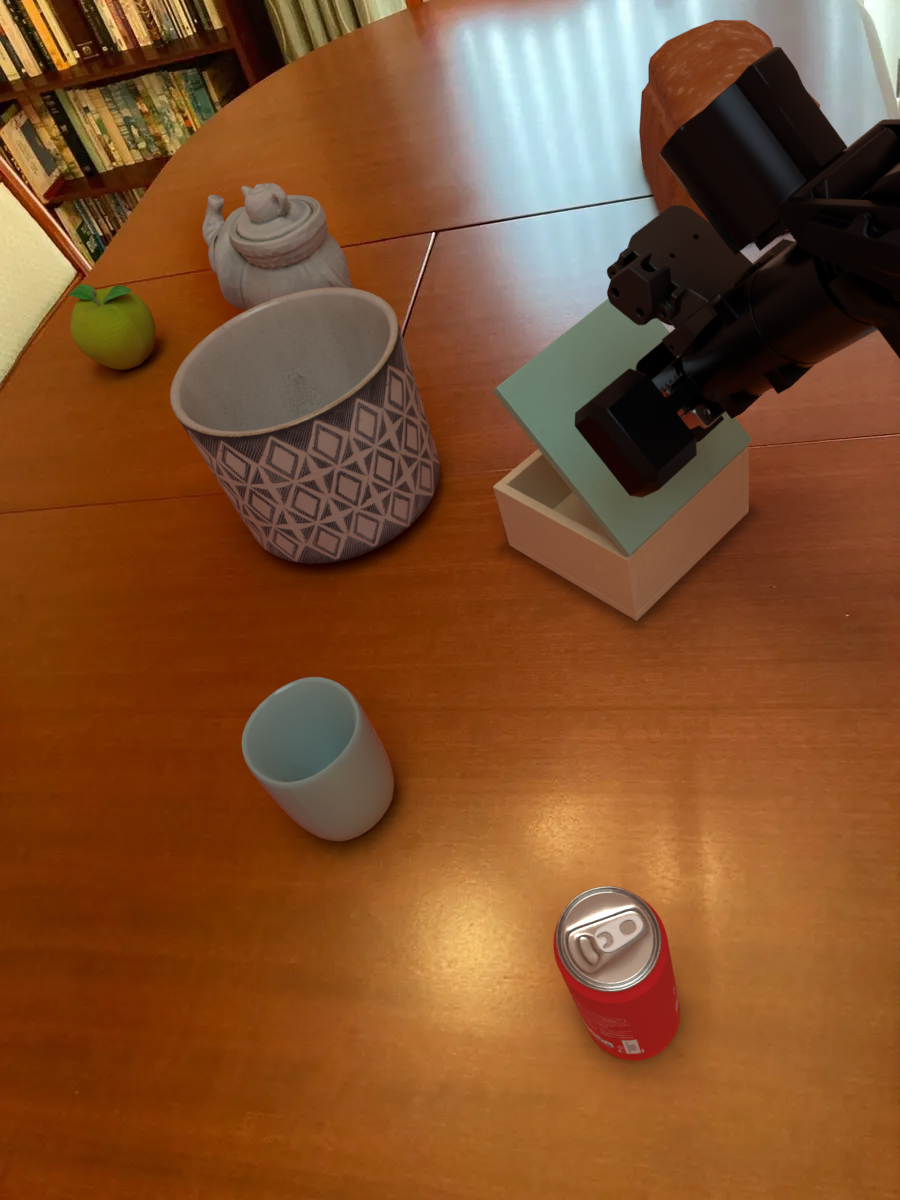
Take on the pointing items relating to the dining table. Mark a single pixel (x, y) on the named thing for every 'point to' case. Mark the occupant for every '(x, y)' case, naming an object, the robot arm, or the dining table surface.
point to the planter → (312, 423)
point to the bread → (690, 92)
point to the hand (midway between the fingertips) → (644, 410)
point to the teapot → (272, 247)
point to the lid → (547, 416)
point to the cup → (320, 758)
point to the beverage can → (619, 971)
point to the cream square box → (589, 557)
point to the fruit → (112, 326)
